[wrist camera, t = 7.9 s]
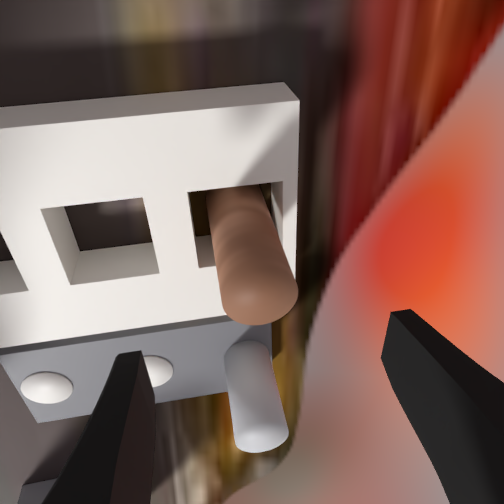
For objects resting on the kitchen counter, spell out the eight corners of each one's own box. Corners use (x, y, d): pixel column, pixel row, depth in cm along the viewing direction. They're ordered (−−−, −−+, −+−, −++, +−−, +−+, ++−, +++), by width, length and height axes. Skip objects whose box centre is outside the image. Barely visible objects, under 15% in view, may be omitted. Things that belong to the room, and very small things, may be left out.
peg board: (-27, 316, 21) (-47, 355, 19) (-148, 120, 15) (-195, 146, 13) (283, 273, 23) (294, 304, 21) (284, 82, 17) (299, 100, 15)
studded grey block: (43, 400, 26) (12, 515, 21) (5, 333, 22) (-44, 452, 17) (267, 364, 27) (291, 463, 22) (265, 296, 24) (293, 394, 18)
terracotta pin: (208, 223, 20) (225, 330, 15) (202, 174, 19) (218, 273, 13) (261, 217, 21) (297, 319, 15) (259, 168, 19) (298, 262, 13)
